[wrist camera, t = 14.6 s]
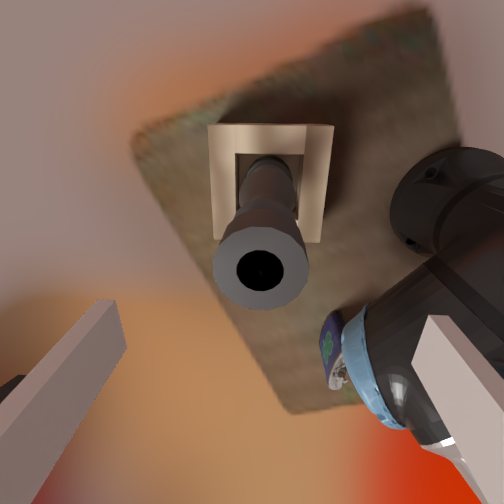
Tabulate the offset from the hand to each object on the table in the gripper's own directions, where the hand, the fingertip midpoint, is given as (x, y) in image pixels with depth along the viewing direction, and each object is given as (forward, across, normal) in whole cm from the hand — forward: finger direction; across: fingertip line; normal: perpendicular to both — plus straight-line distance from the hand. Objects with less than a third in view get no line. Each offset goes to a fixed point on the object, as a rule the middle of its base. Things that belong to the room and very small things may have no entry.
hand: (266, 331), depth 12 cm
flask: (+31, -12, +27) cm, 43 cm away
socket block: (+31, 0, 0) cm, 31 cm away
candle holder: (+30, 0, 0) cm, 30 cm away
